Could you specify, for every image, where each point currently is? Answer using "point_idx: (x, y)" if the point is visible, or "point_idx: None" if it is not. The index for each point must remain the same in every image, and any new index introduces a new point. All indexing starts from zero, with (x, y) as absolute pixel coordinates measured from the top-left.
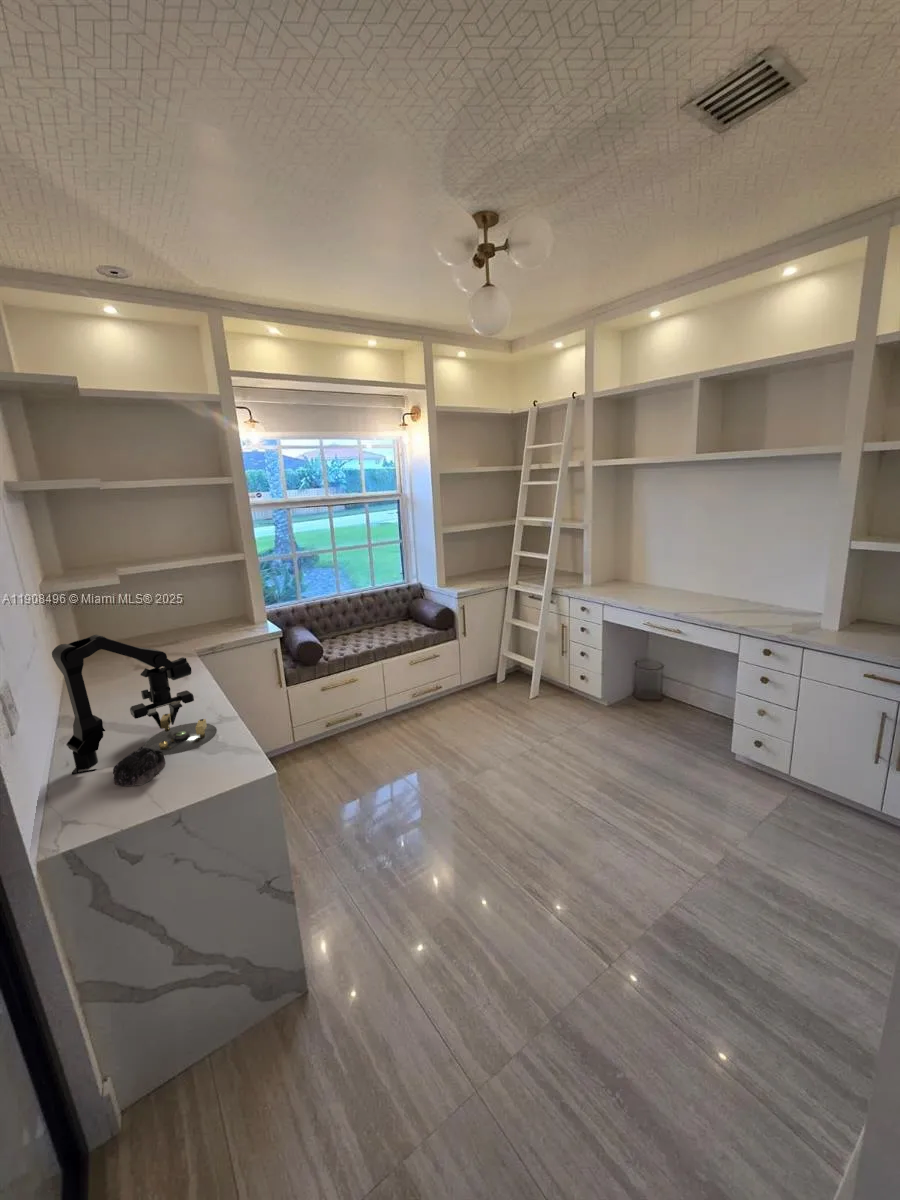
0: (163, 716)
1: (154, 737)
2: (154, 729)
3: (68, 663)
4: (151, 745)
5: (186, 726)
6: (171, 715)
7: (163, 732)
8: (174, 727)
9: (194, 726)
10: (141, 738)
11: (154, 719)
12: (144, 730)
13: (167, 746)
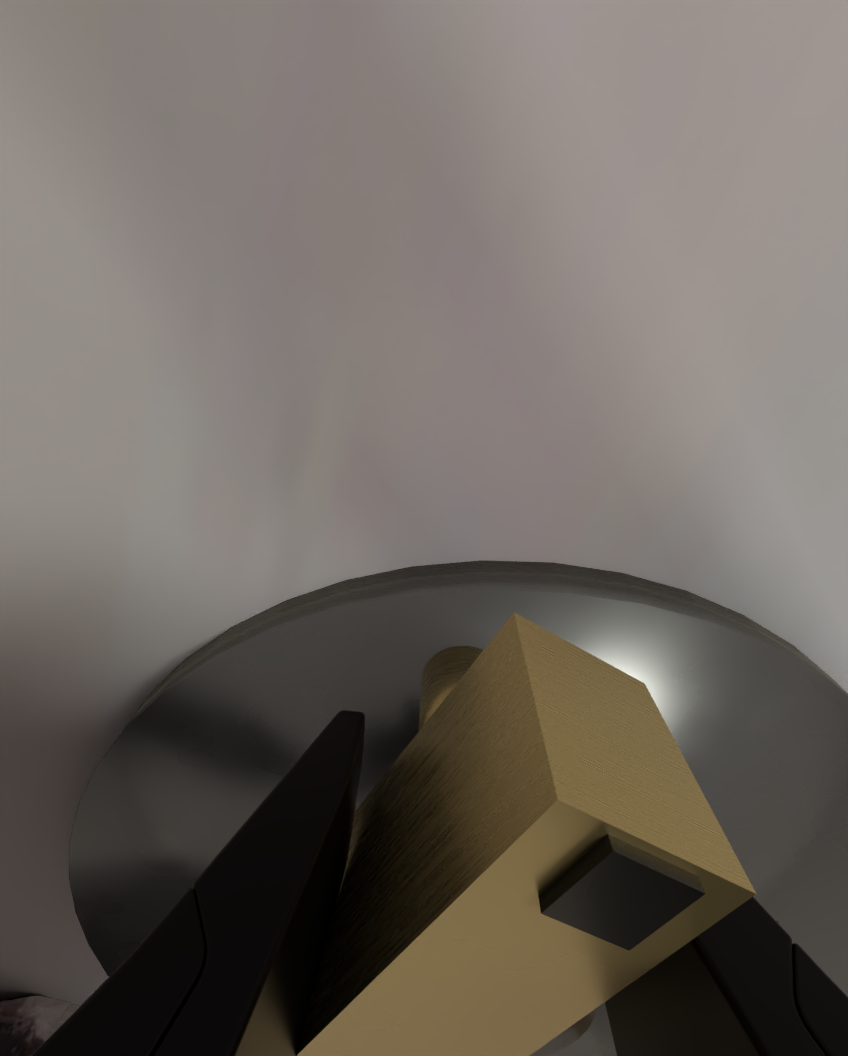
0: (479, 926)
1: (235, 706)
2: (384, 198)
3: None
4: (151, 866)
5: (731, 744)
6: (660, 1038)
7: (396, 663)
8: (606, 632)
9: (784, 826)
10: (95, 419)
11: (174, 921)
12: (202, 18)
13: None
